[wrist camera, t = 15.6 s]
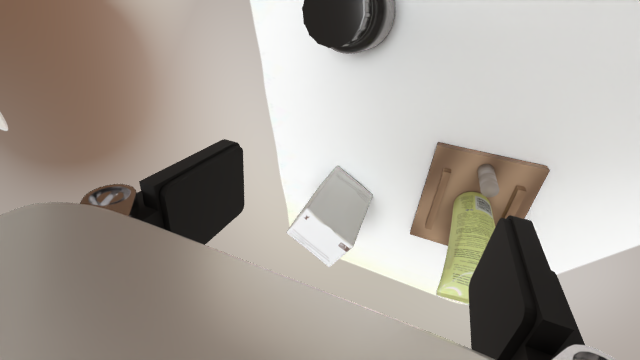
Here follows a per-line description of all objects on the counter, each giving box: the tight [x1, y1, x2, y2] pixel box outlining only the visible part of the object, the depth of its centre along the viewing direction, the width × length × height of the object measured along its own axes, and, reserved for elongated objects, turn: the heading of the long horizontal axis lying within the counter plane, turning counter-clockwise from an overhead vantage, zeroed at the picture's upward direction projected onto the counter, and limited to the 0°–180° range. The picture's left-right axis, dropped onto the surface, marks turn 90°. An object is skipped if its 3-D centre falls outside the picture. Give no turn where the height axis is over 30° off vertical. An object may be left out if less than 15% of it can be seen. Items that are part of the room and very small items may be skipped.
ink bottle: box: [302, 0, 395, 54], centre depth 36 cm, size 10×9×12 cm
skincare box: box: [287, 166, 373, 267], centre depth 47 cm, size 8×6×15 cm
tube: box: [436, 192, 495, 305], centre depth 37 cm, size 6×5×20 cm
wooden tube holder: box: [410, 142, 550, 246], centre depth 43 cm, size 14×16×8 cm
